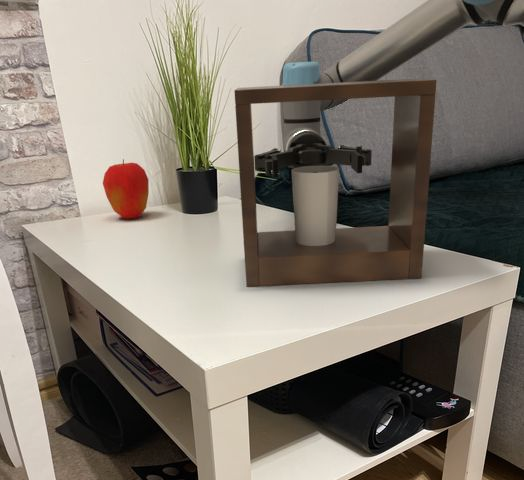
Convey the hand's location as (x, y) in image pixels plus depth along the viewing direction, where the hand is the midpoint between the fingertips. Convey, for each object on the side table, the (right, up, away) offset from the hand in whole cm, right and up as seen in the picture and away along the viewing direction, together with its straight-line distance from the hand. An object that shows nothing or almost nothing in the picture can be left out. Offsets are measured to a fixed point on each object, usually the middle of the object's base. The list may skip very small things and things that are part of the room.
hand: (317, 166), depth 92 cm
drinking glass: (-1, -14, -9) cm, 16 cm away
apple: (-37, -1, +30) cm, 48 cm away
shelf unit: (+1, -17, -7) cm, 19 cm away
